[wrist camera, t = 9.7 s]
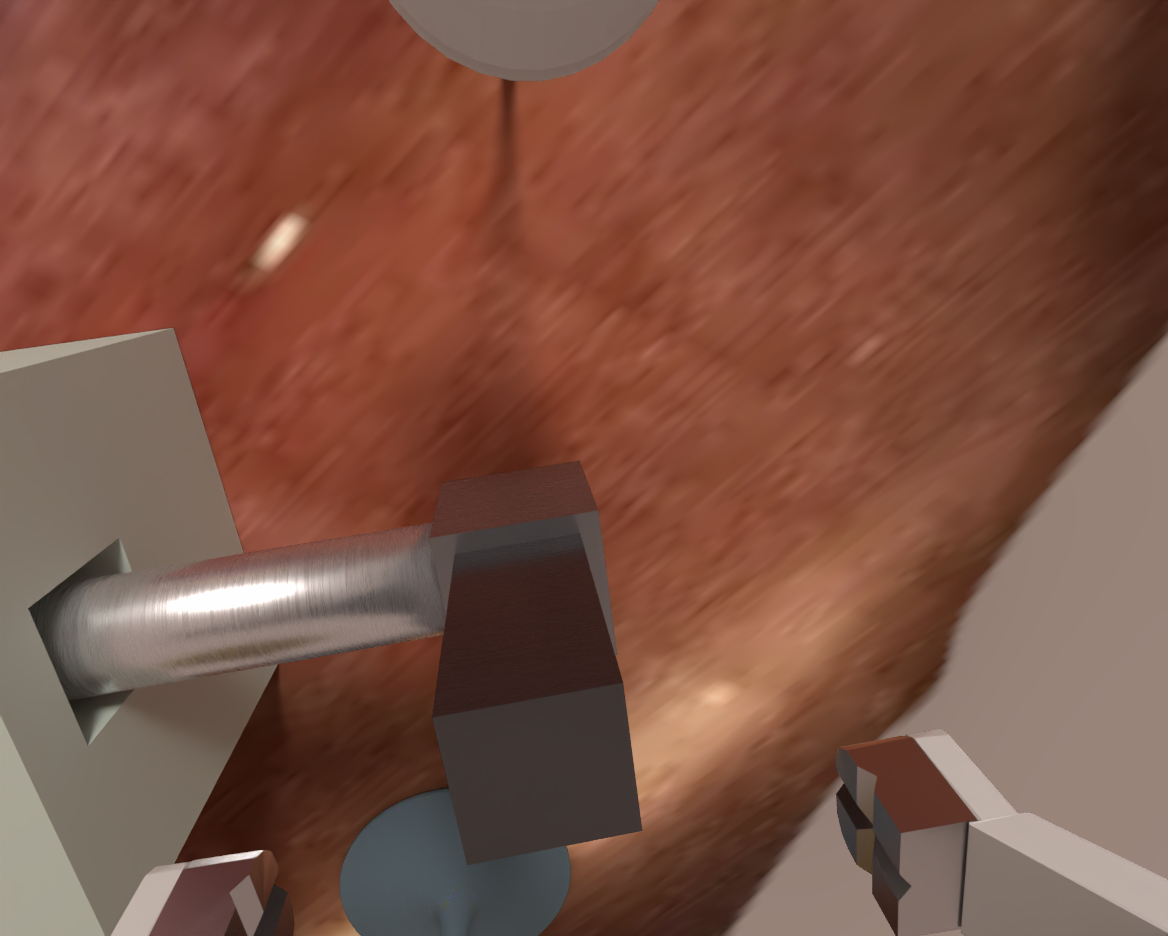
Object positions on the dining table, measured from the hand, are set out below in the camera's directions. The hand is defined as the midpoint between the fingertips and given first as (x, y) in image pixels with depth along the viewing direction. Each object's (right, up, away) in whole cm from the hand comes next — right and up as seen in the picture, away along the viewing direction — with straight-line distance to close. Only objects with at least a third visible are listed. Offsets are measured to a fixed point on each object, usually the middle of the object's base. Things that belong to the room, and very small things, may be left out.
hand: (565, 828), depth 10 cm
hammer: (-12, +2, +10) cm, 16 cm away
